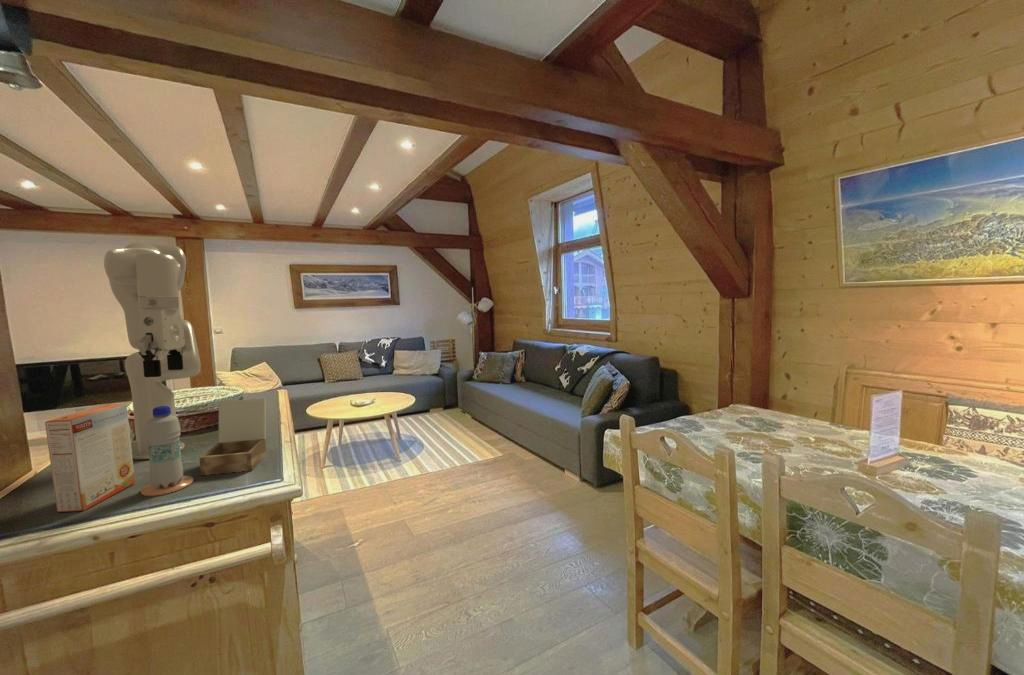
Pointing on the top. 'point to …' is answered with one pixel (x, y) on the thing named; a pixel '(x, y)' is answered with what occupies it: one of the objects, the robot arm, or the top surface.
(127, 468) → the cracker box
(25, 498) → the top surface
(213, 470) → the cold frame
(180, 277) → the robot arm
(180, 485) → the saucer
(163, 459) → the bottle
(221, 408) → the lid
